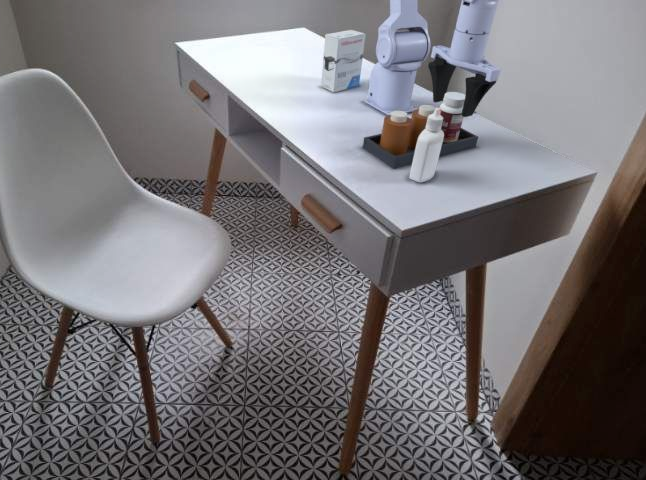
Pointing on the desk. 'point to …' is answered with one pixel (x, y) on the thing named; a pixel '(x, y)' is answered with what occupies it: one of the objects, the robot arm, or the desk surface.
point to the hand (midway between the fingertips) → (452, 108)
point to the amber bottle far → (396, 132)
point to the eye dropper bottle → (428, 149)
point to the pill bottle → (452, 115)
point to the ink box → (342, 60)
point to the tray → (373, 147)
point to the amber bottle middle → (419, 123)
